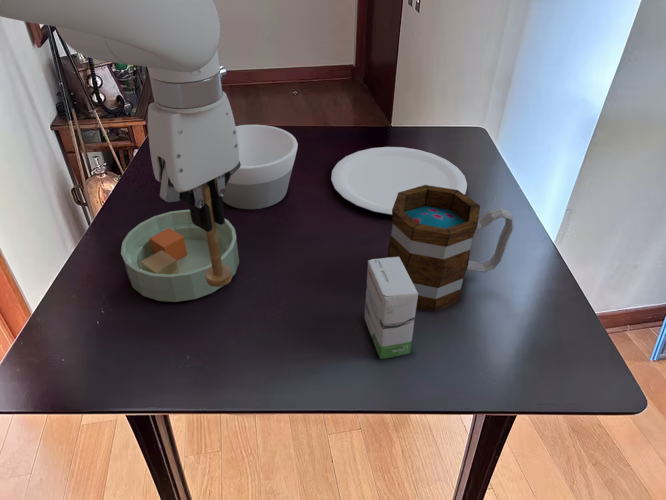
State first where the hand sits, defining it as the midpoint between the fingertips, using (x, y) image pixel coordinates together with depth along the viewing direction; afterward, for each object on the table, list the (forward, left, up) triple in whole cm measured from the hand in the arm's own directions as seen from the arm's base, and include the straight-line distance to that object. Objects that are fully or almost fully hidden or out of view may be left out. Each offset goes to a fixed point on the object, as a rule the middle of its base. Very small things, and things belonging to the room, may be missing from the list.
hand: (209, 223), depth 68 cm
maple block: (-1, +13, -17) cm, 22 cm away
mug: (+29, -21, -18) cm, 40 cm away
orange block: (+3, +18, -17) cm, 25 cm away
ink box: (+13, -21, -18) cm, 31 cm away
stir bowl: (+3, +14, -18) cm, 23 cm away
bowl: (+28, +24, -18) cm, 41 cm away
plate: (+51, +3, -18) cm, 54 cm away
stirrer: (0, 0, -10) cm, 10 cm away
